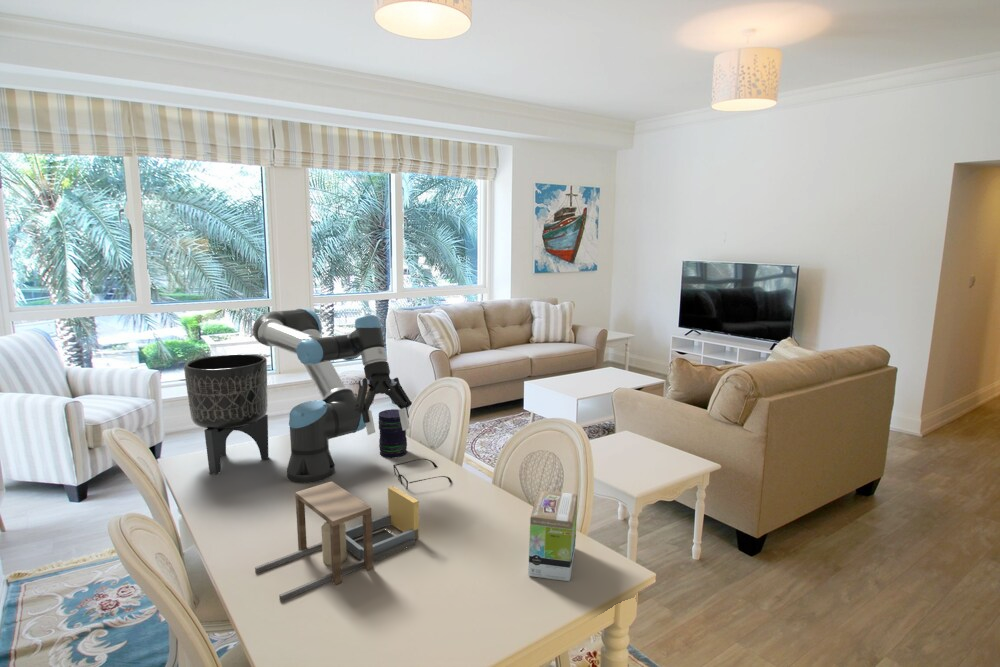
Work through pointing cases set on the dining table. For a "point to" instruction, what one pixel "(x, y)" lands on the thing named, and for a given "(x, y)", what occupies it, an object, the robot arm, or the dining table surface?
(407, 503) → the yellow panel grey frame
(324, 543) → the candle
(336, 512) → the wooden stand with rails
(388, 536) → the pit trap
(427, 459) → the eyeglasses
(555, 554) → the tea box
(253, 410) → the planter
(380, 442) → the dark blue cylinder
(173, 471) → the dining table surface
